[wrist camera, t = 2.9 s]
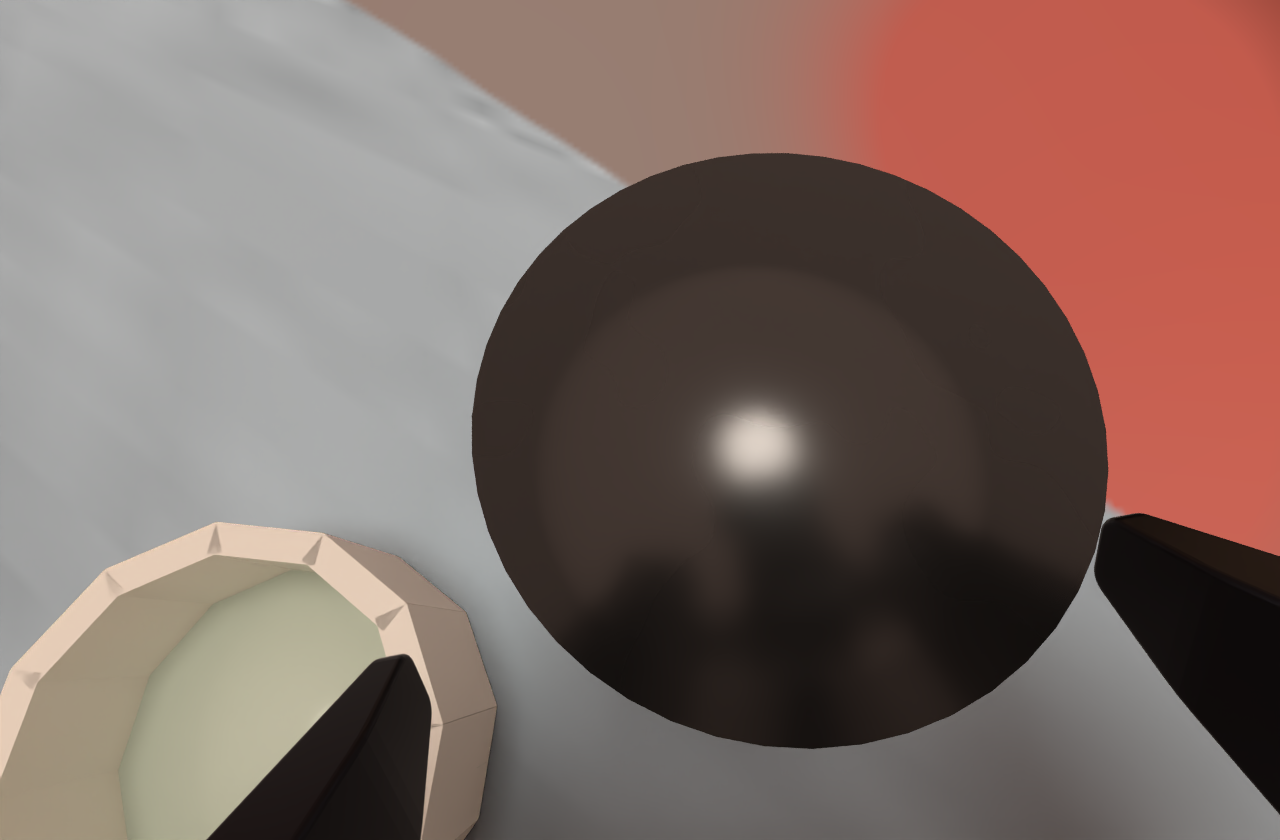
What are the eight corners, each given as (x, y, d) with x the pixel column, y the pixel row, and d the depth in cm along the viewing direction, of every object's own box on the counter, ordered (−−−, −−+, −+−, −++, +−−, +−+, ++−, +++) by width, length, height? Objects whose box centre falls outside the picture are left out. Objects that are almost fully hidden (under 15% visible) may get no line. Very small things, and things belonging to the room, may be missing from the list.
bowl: (545, 850, 15) (501, 917, 12) (160, 1039, 15) (-22, 1178, 11) (428, 497, 18) (362, 459, 15) (104, 638, 18) (-53, 636, 14)
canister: (831, 622, 17) (1256, 561, 4) (662, 703, 16) (614, 885, 4) (746, 460, 18) (887, 80, 6) (590, 530, 18) (397, 278, 6)
